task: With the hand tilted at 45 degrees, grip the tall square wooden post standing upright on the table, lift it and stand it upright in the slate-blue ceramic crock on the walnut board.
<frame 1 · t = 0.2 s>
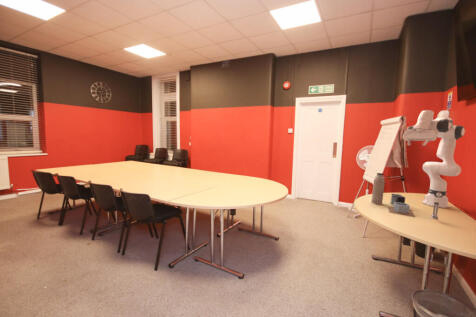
hand: (416, 145, 167), 54 cm above the table, tool tilted 30°, fingers open, 8 cm apart
small box: (396, 207, 191), on the table
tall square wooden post: (434, 219, 164), on the table
serving board: (400, 213, 176), on the table
utensil crock: (400, 211, 176), resting on serving board
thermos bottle: (376, 204, 196), on the table
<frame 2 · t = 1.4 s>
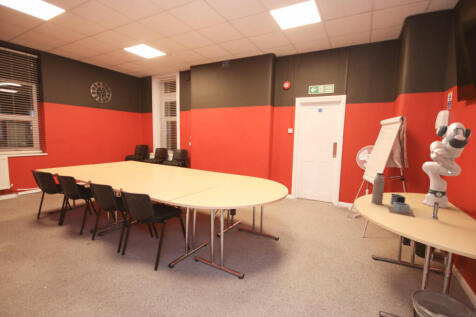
hand: (446, 169, 158), 38 cm above the table, tool tilted 55°, fingers open, 8 cm apart
nothing on the table moved.
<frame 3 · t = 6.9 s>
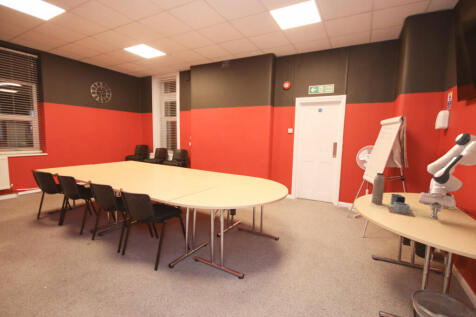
hand: (435, 210, 163), 7 cm above the table, tool tilted 45°, fingers closed on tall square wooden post, 2 cm apart
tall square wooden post: (434, 219, 164), on the table, touching gripper
everything else where it was.
when the fingers open (11 cm above the table, at t = 13.2 s): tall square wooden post drops 1 cm, resting on utensil crock.
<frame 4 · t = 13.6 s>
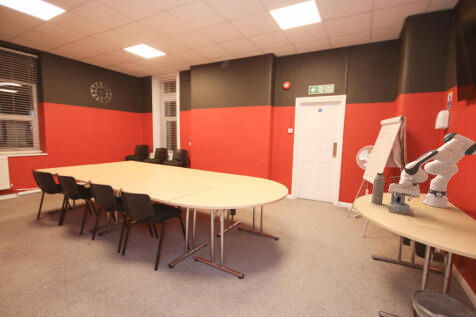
hand: (402, 199, 174), 11 cm above the table, tool tilted 45°, fingers open, 7 cm apart
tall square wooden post: (400, 210, 176), point 3 cm above the table, touching utensil crock
everything else where it was.
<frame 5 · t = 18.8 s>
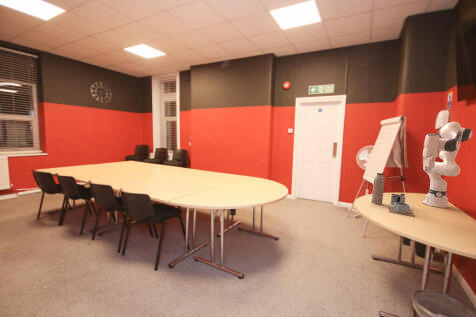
hand: (427, 172, 175), 33 cm above the table, tool pointing down, fingers open, 8 cm apart
nothing on the table moved.
at the end: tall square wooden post 0.0 cm off-centre on the utensil crock, point 1.0 cm above the utensil crock's base; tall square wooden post tilted 0°; the gripper is holding nothing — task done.
